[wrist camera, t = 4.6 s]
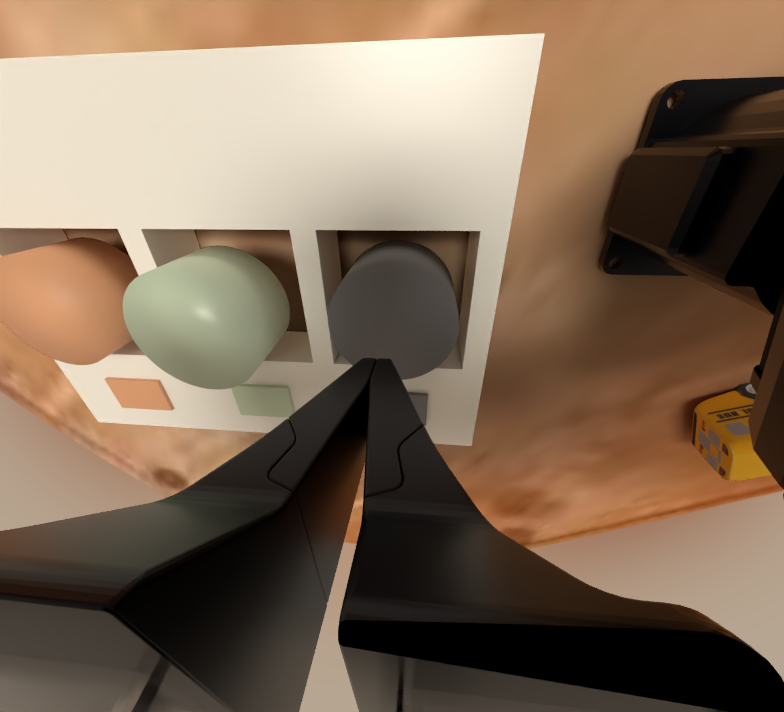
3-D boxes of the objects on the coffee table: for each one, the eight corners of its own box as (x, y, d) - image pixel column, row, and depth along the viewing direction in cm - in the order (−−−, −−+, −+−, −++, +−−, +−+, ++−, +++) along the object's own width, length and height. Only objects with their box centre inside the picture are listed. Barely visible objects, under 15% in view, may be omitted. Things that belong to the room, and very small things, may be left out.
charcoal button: (459, 240, 13) (466, 262, 10) (449, 344, 15) (452, 383, 13) (340, 239, 13) (319, 260, 11) (350, 340, 16) (335, 377, 13)
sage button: (277, 246, 12) (238, 270, 10) (298, 351, 15) (272, 392, 12) (161, 244, 13) (95, 268, 10) (202, 347, 15) (157, 386, 13)
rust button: (132, 237, 14) (67, 256, 11) (175, 334, 16) (129, 367, 14) (34, 236, 14) (-50, 255, 12) (90, 331, 17) (31, 362, 14)
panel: (518, 60, 11) (547, 30, 8) (465, 408, 20) (471, 448, 17) (-40, 82, 13) (-163, 64, 10) (136, 390, 22) (95, 424, 19)
